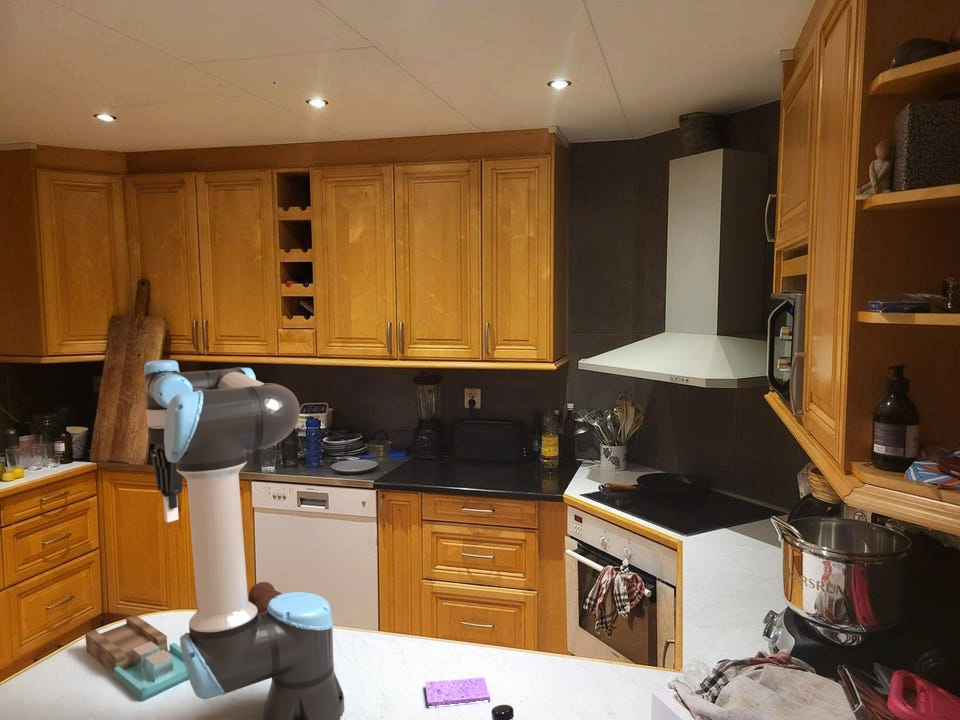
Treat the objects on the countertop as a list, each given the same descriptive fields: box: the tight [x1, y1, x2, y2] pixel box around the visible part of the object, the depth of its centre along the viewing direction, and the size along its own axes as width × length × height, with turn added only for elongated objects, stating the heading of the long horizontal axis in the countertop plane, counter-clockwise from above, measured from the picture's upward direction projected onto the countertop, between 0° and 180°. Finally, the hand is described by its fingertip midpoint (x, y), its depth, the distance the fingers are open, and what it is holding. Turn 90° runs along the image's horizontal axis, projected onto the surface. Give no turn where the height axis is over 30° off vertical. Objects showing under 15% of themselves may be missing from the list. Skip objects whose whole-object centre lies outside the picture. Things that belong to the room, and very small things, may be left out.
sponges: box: [424, 676, 491, 707], centre depth 136 cm, size 7×13×2 cm, turn 98°
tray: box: [113, 642, 189, 702], centre depth 144 cm, size 13×13×2 cm
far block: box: [132, 641, 160, 673], centre depth 146 cm, size 4×4×4 cm
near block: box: [145, 650, 174, 682], centre depth 143 cm, size 4×4×4 cm
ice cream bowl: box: [248, 581, 283, 614], centre depth 154 cm, size 11×11×15 cm
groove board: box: [84, 614, 169, 675], centre depth 153 cm, size 16×11×4 cm
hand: (171, 520), depth 163 cm, fingers closed
